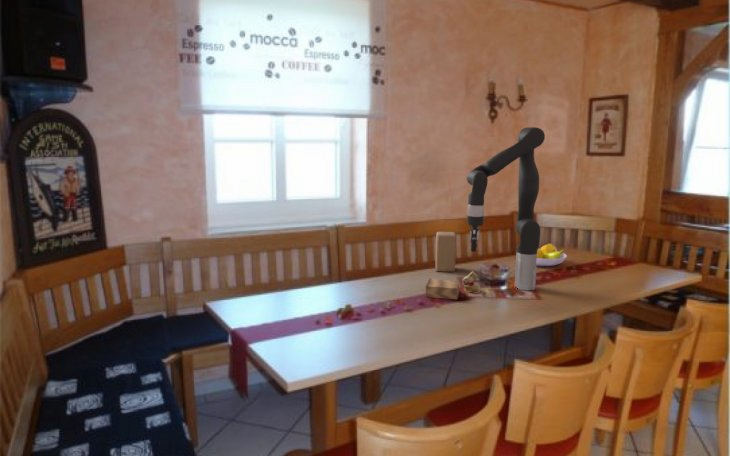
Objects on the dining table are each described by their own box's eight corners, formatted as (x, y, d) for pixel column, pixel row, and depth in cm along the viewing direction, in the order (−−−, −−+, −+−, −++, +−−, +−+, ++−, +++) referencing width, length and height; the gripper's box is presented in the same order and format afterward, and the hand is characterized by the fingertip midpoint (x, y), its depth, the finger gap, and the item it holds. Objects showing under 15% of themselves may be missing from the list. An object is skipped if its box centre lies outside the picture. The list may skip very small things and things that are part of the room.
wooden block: (453, 267, 287) (455, 231, 283) (454, 272, 277) (456, 235, 274) (435, 266, 288) (436, 231, 284) (435, 271, 278) (437, 234, 274)
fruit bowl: (509, 258, 308) (510, 239, 306) (553, 257, 311) (554, 239, 309) (529, 271, 281) (530, 250, 279) (577, 269, 284) (578, 249, 282)
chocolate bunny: (466, 288, 249) (467, 268, 247) (482, 291, 244) (483, 270, 243) (461, 291, 244) (462, 270, 243) (477, 294, 240) (478, 273, 238)
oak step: (458, 291, 244) (459, 280, 243) (457, 299, 232) (457, 287, 231) (428, 289, 247) (429, 278, 246) (425, 296, 236) (425, 285, 235)
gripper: (483, 217, 230) (481, 253, 233) (484, 212, 244) (482, 246, 247) (466, 216, 232) (464, 252, 235) (468, 212, 246) (466, 245, 249)
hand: (474, 249), depth 241 cm, fingers open, 8 cm apart
